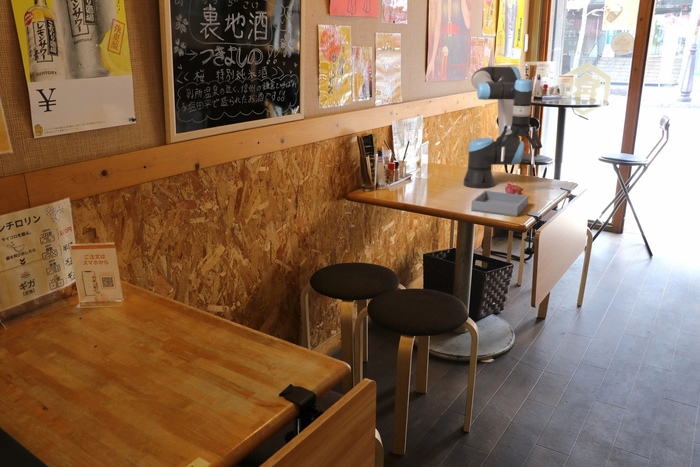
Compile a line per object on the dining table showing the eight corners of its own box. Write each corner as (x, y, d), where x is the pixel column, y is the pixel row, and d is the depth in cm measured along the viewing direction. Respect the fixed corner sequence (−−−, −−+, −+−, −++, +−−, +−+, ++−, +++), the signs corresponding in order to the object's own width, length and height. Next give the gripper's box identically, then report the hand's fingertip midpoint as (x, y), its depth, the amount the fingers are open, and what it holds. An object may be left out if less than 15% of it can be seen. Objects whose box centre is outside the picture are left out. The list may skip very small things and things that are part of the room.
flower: (507, 198, 261) (518, 183, 260) (495, 189, 269) (506, 175, 267) (518, 206, 267) (529, 193, 265) (506, 198, 274) (517, 184, 273)
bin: (471, 210, 248) (471, 200, 247) (484, 200, 265) (485, 190, 263) (516, 217, 239) (517, 206, 238) (527, 205, 256) (528, 195, 254)
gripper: (491, 114, 259) (488, 161, 265) (548, 117, 247) (543, 166, 254) (495, 113, 265) (492, 158, 272) (551, 115, 254) (547, 163, 260)
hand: (517, 162), depth 263 cm, fingers open, 13 cm apart
